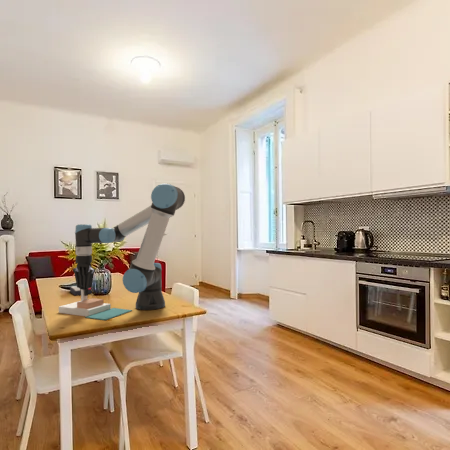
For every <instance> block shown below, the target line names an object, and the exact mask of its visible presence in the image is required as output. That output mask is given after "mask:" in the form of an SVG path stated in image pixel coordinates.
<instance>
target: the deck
mask: <svg viewBox="0 0 450 450" xmlns="http://www.w3.org/2000/svg"><path fill="white" fill-rule="evenodd" d="M80 301H81V300H79V301H75V302H71V303H67V304H64V305H60V306H58V313H59V314H67V315H73V316H81V317H86V316H89V315H92V314H96V313H99V312H102V311H105V310H108V309H111V308H112V305H111V303H105V302H103V305H99V306H96V307H92V308H89V309H85V308H77V302H80Z"/></svg>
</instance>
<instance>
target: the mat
mask: <svg viewBox="0 0 450 450" xmlns="http://www.w3.org/2000/svg"><path fill="white" fill-rule="evenodd" d="M130 312H133V310H132V309H125V308H119V307H118V308H117V307H111V309H108V310H105V311H102V312H99V313H96V314H92V315H89V316H84V317H85V319H90V320H91V319H93V320H98V321H99V320H100V321H107V320H110V319H114V318H116V317H119V316H122V315H125V314H128V313H130Z"/></svg>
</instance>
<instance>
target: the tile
mask: <svg viewBox="0 0 450 450" xmlns="http://www.w3.org/2000/svg"><path fill="white" fill-rule="evenodd" d="M79 301H80V302H79ZM79 301H76V302H77V308H85V309H89V308H92V307H96V306H99V305H103V303H104V299H103V298H93V297H92V298H90V299H89V298H88V300H84V301H81V300H79Z"/></svg>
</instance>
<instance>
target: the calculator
mask: <svg viewBox="0 0 450 450" xmlns="http://www.w3.org/2000/svg"><path fill="white" fill-rule="evenodd" d="M91 288H92V287H91ZM91 288H89V289H88V295H91V293H92V291H91ZM69 292H70V294H72V295H73V296H75V297H77V296H81V295H80V288H77V285H75V286H70V287H69Z"/></svg>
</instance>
